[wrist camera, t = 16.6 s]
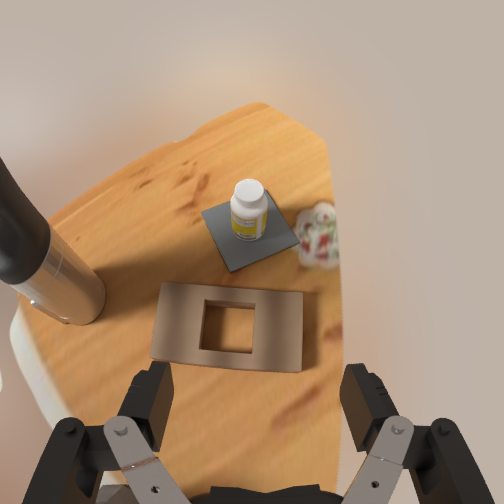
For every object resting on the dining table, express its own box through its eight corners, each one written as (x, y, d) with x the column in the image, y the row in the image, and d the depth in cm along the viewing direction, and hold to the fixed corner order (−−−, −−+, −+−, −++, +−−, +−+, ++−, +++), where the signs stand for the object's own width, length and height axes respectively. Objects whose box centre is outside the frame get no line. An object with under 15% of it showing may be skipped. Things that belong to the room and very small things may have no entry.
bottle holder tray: (299, 299, 44) (303, 292, 42) (297, 372, 39) (301, 371, 37) (166, 288, 44) (161, 281, 42) (155, 360, 39) (149, 357, 37)
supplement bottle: (253, 208, 51) (255, 169, 42) (271, 232, 49) (277, 195, 40) (225, 223, 50) (222, 184, 41) (243, 248, 48) (243, 212, 39)
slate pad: (230, 273, 46) (230, 271, 46) (201, 213, 51) (200, 212, 50) (298, 243, 49) (298, 242, 48) (264, 190, 54) (264, 188, 53)
